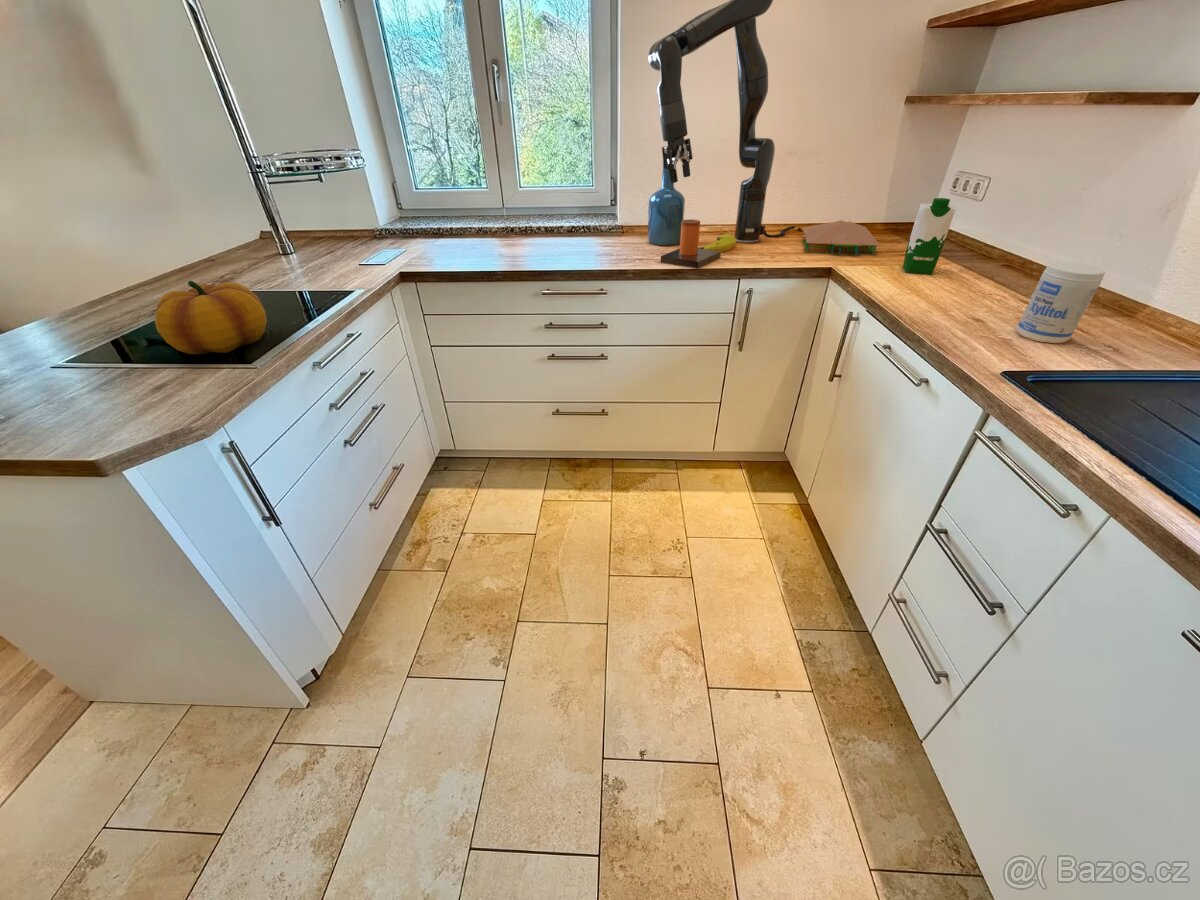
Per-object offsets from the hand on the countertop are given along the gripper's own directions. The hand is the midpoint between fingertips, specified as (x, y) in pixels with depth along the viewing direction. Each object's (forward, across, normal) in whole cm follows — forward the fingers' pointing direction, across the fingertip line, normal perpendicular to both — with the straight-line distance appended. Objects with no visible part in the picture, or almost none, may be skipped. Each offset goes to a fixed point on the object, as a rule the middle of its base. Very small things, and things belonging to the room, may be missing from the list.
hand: (680, 179), depth 162 cm
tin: (+22, -4, -1) cm, 22 cm away
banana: (+26, +16, -1) cm, 31 cm away
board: (+24, -4, -2) cm, 25 cm away
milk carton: (+38, +19, -65) cm, 78 cm away
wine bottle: (+22, +14, +18) cm, 32 cm away
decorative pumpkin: (+2, -126, +52) cm, 136 cm away
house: (+35, +40, -36) cm, 65 cm away
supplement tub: (+40, -24, -96) cm, 107 cm away
